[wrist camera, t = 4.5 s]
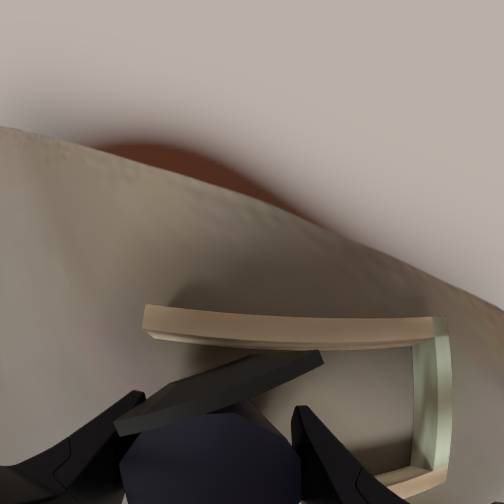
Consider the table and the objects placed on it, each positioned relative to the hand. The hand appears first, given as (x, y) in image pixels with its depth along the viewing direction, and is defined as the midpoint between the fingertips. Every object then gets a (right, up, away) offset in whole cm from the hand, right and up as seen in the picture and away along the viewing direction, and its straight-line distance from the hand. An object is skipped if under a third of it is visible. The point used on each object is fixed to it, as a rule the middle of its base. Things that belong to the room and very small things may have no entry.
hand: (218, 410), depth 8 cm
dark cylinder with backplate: (0, -5, +5) cm, 7 cm away
